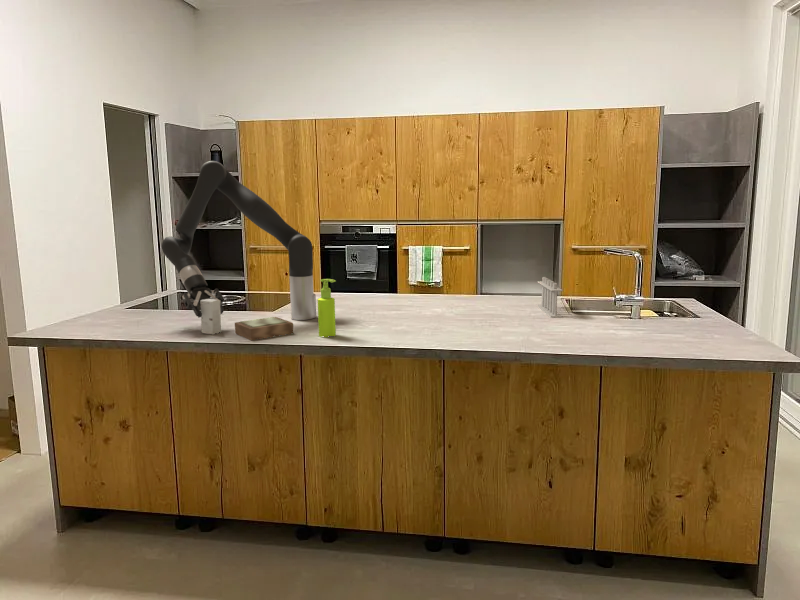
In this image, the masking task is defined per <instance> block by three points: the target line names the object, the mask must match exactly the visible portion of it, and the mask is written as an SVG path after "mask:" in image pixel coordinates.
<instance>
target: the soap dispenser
mask: <svg viewBox="0 0 800 600" xmlns="http://www.w3.org/2000/svg"><path fill="white" fill-rule="evenodd" d="M320 282H322V288H321V289H320V297H319V298H317V316H318V317H317V320H318V321H317V323H318V324H317V325H318V337H319V336H324V337H323V338H329V337H328V336H334V337H335V335H337V333H336V332H337V330H336V327H337V326H336V303H335V302H336V301H335V297H332V293H331V292H332V291H331V288H330V287H329V283H336V282H337V280H335V279H331V278H322V279H320Z"/></svg>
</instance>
